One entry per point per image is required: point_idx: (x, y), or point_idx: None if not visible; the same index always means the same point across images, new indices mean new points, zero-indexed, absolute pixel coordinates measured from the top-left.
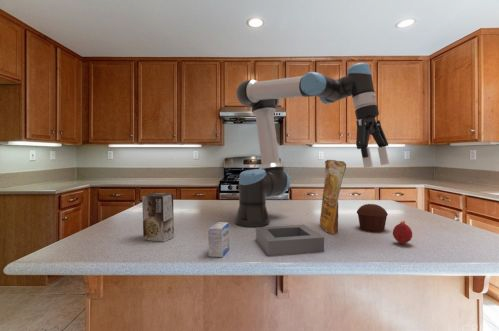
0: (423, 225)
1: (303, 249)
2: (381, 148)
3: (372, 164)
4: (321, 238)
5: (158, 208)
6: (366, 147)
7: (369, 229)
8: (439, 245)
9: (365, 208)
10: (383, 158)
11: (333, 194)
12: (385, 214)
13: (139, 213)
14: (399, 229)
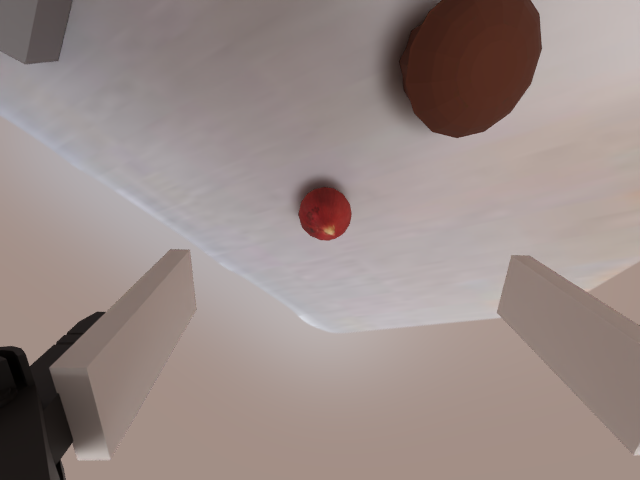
0: (590, 181)
1: None
2: (636, 398)
3: (186, 319)
4: (14, 57)
5: None
6: (69, 445)
7: (402, 71)
8: (378, 259)
9: (441, 53)
10: (538, 315)
11: None
12: (452, 134)
13: None
14: (304, 220)
